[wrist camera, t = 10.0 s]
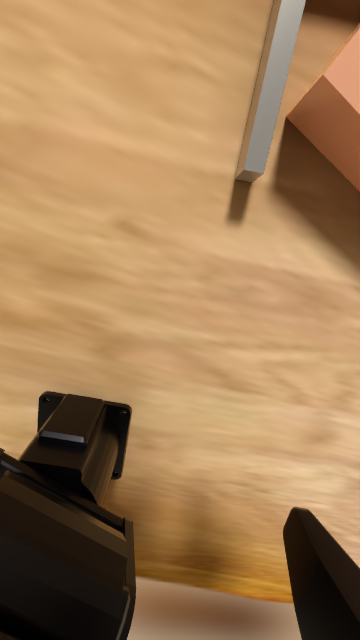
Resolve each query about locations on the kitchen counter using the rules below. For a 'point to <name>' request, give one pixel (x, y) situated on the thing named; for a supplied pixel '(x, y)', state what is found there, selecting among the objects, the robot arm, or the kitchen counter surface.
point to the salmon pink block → (335, 110)
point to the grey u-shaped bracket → (269, 87)
